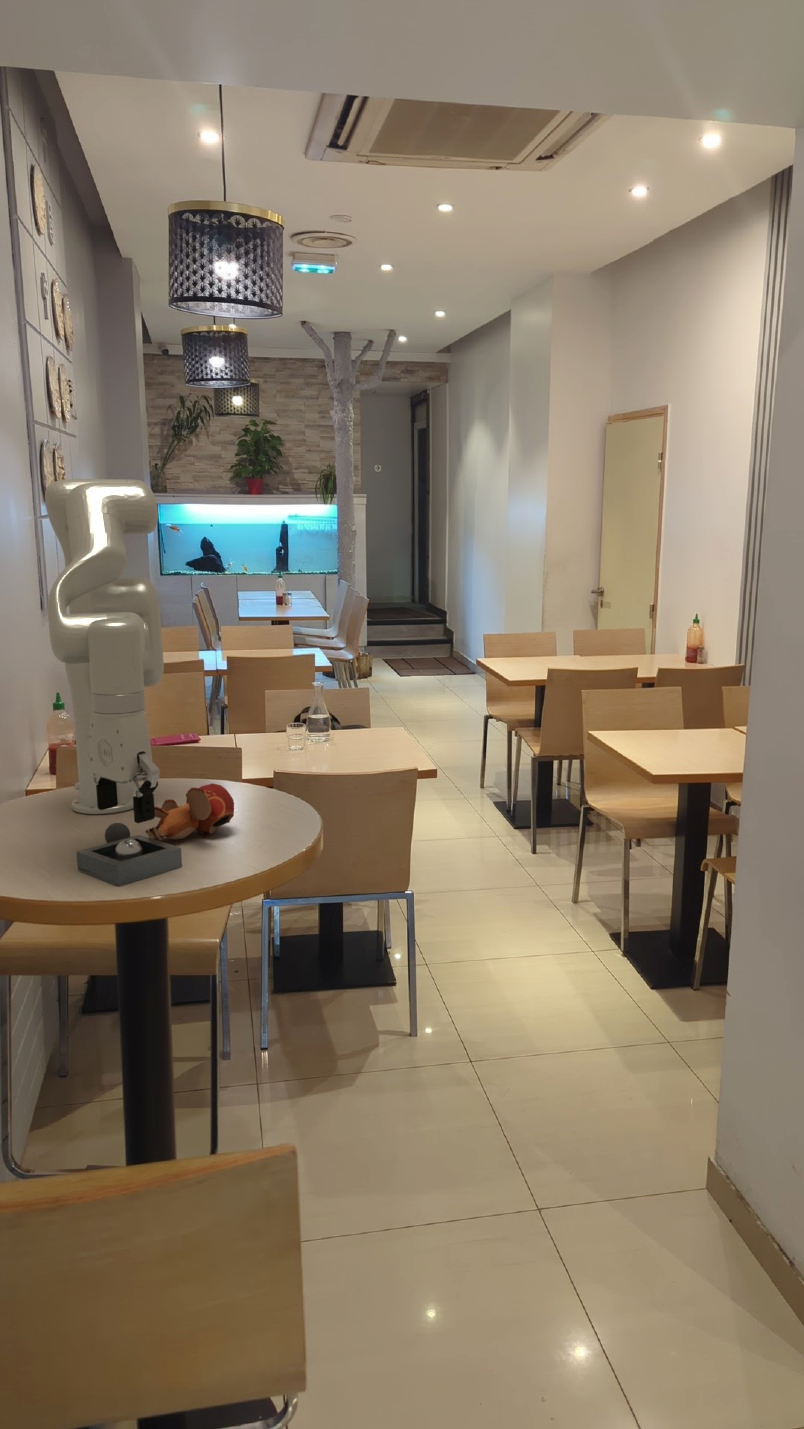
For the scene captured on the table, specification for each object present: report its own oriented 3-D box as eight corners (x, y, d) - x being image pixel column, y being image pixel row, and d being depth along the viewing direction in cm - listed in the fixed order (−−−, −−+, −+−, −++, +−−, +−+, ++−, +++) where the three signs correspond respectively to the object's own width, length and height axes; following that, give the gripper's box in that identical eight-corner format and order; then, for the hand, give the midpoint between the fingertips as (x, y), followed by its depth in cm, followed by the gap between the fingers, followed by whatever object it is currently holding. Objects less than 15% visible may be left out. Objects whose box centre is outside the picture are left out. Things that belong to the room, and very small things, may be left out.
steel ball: (110, 865, 147) (109, 840, 147) (133, 858, 150) (131, 833, 149) (125, 871, 145) (124, 845, 144) (148, 864, 148) (147, 839, 147)
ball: (100, 847, 158) (98, 823, 158) (122, 841, 161) (120, 818, 161) (114, 852, 156) (112, 828, 155) (135, 846, 159) (134, 822, 158)
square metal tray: (77, 870, 147) (76, 851, 147) (140, 852, 155) (139, 834, 155) (118, 886, 140) (117, 866, 139) (182, 866, 148) (181, 847, 148)
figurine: (186, 850, 151) (265, 811, 160) (162, 799, 150) (242, 762, 159) (144, 865, 166) (217, 828, 175) (122, 818, 166) (197, 784, 175)
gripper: (64, 699, 146) (72, 808, 150) (130, 714, 135) (137, 832, 139) (108, 692, 152) (115, 798, 155) (175, 706, 141) (181, 820, 144)
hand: (125, 814), depth 147 cm, fingers open, 9 cm apart
